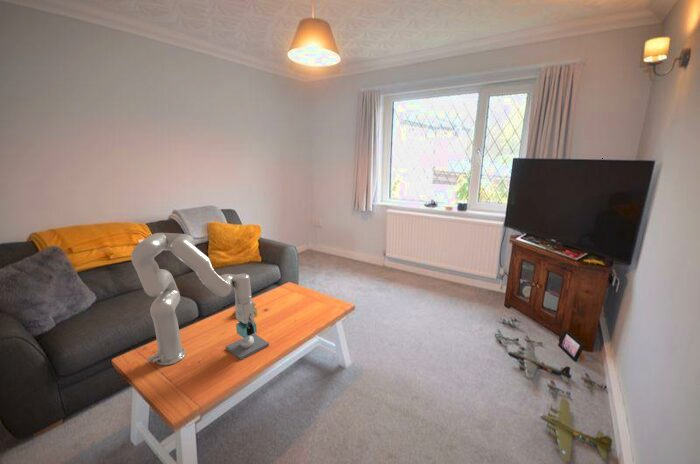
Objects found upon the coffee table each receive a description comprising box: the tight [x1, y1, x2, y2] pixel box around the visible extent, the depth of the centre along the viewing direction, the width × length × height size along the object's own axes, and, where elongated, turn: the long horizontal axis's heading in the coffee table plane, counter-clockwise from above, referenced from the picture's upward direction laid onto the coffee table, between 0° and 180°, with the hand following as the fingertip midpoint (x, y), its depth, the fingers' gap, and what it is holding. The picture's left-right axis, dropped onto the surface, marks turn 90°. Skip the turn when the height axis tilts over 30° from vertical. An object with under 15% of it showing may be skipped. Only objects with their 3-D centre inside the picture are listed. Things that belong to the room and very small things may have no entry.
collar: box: [235, 320, 258, 338], centre depth 158 cm, size 7×7×5 cm
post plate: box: [225, 333, 270, 361], centre depth 159 cm, size 16×14×10 cm
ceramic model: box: [233, 300, 258, 317], centre depth 193 cm, size 14×11×10 cm
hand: (246, 331), depth 158 cm, fingers closed on collar, 7 cm apart
